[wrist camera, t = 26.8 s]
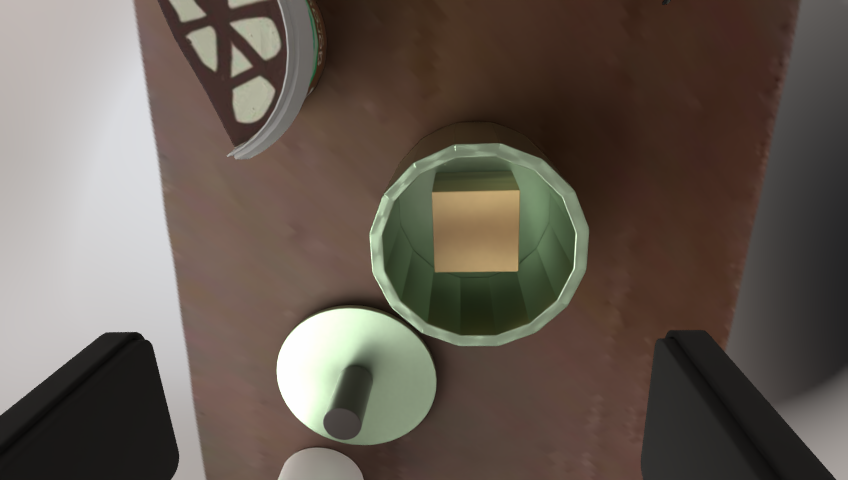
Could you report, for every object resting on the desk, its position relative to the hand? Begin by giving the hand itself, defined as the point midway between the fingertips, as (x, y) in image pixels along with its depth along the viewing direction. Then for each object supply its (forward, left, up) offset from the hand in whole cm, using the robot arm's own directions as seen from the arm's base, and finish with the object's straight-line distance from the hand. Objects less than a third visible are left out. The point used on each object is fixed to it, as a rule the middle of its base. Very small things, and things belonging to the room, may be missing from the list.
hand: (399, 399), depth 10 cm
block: (+4, +2, -26) cm, 26 cm away
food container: (-8, -9, -26) cm, 29 cm away
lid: (+17, -7, -26) cm, 32 cm away
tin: (+4, +2, -26) cm, 27 cm away
